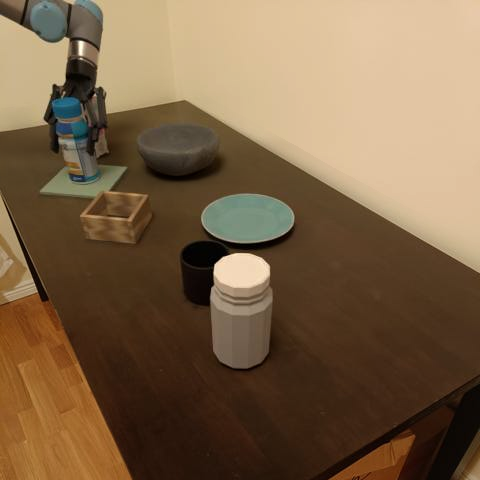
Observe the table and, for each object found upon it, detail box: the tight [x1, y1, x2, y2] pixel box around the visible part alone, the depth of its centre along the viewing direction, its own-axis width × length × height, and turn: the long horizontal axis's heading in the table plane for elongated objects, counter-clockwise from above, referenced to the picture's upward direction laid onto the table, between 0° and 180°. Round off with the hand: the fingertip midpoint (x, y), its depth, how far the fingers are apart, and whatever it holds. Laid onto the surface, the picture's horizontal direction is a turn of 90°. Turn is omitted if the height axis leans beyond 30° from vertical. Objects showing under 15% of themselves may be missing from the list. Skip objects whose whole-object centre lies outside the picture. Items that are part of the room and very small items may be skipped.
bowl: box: [135, 122, 220, 177], centre depth 122 cm, size 23×22×10 cm
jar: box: [210, 252, 274, 370], centre depth 68 cm, size 10×10×18 cm
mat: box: [39, 164, 129, 200], centre depth 119 cm, size 18×18×1 cm
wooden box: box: [79, 190, 153, 245], centre depth 101 cm, size 12×12×6 cm
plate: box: [200, 193, 295, 245], centre depth 102 cm, size 22×22×3 cm
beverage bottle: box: [52, 97, 100, 184], centre depth 112 cm, size 8×8×20 cm
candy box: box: [49, 91, 110, 160], centre depth 128 cm, size 14×6×16 cm, turn 58°
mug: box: [179, 239, 231, 306], centre depth 84 cm, size 9×12×9 cm
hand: (72, 152), depth 111 cm, fingers open, 9 cm apart
